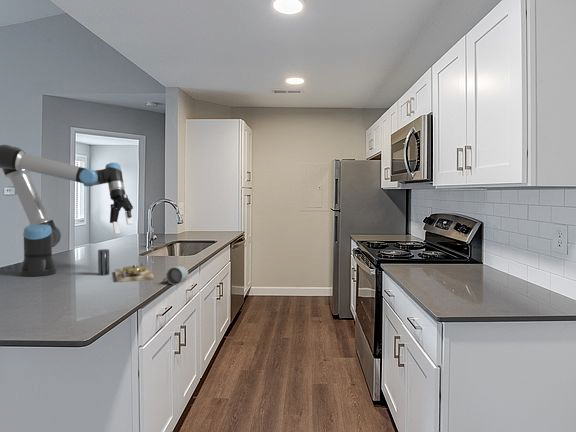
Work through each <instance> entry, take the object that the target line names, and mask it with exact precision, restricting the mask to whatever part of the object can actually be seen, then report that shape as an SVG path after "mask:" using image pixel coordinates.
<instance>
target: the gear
mask: <svg viewBox="0 0 576 432" xmlns="http://www.w3.org/2000/svg"><path fill="white" fill-rule="evenodd" d="M146 268H147V266H145V265H144V266H141V265H136V264H135V265H131V266H130V265H128V266H123V268H122V269H123V271H126V273H131V276H138V272H140V273H141V272H145V271H146Z"/></svg>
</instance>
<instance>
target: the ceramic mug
mask: <svg viewBox="0 0 576 432" xmlns="http://www.w3.org/2000/svg"><path fill="white" fill-rule="evenodd" d="M165 274H166V275H165V276H166V277H164V278H163V279H162V281H163V283H167V282H168V283H169V284H171V285H173V286H174V285H175V286H177V285H179V284H181V283H184V282H185V281H186V280H187V279H188V277H189V270H188V269H187V267H185V266H182V265H178V266H173V267H170V268H169V269H168V270H167V272H166V273H165Z"/></svg>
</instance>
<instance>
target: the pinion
mask: <svg viewBox="0 0 576 432" xmlns="http://www.w3.org/2000/svg"><path fill="white" fill-rule="evenodd" d="M97 258H98V260H97V263H98V264H97V265H98V268H97V269H98V270H97V273H98V276H107V275H110V249H106V248H105V249H103V248H102V249H98V250H97Z"/></svg>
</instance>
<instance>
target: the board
mask: <svg viewBox="0 0 576 432" xmlns="http://www.w3.org/2000/svg"><path fill="white" fill-rule="evenodd" d="M140 266H145V262H140ZM114 275H115V280H116V283H122V282H123V283H125V282H139V281H141V282H142V281H153V280H155V276H154V274H153V273H152V271H151V269H150V268H149V267H146V271H145V272H141V273H140V272H138V276H131V273H126V271H123V268H117V269H116V268H115V269H114Z"/></svg>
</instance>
